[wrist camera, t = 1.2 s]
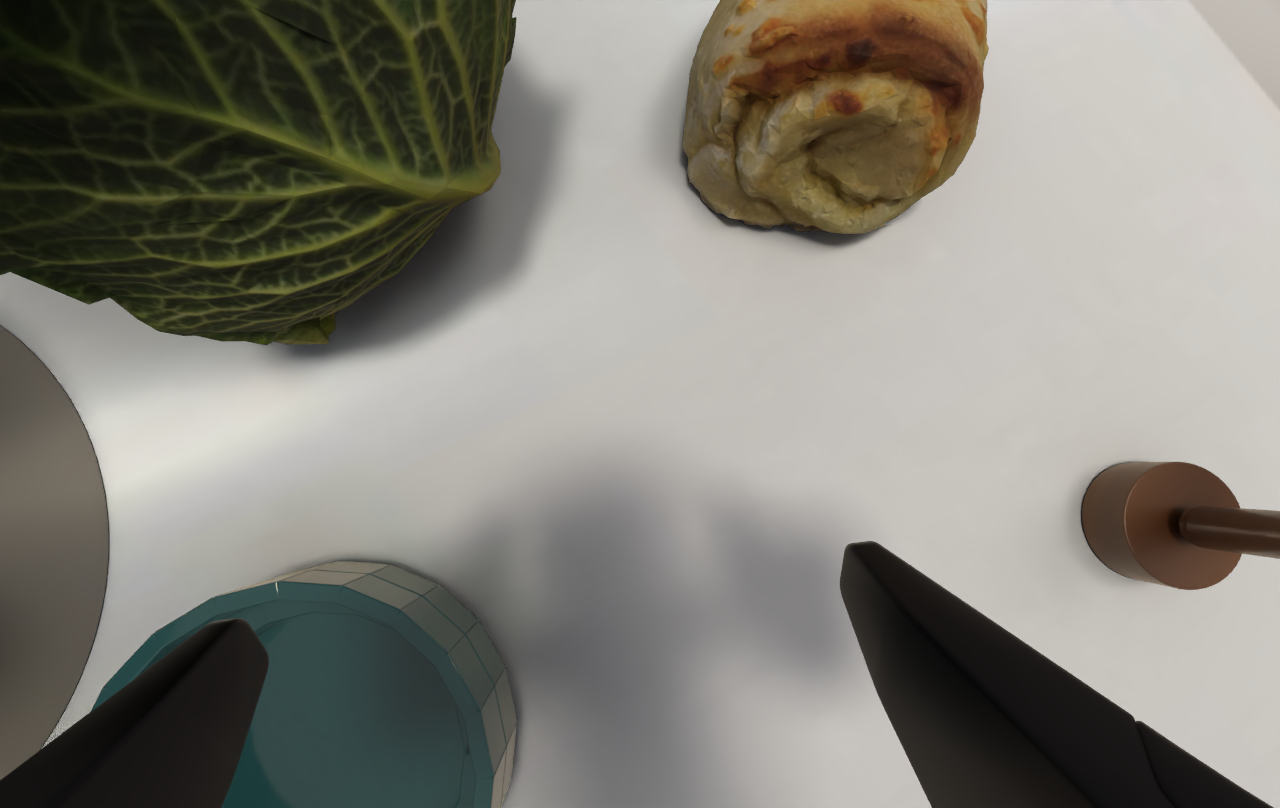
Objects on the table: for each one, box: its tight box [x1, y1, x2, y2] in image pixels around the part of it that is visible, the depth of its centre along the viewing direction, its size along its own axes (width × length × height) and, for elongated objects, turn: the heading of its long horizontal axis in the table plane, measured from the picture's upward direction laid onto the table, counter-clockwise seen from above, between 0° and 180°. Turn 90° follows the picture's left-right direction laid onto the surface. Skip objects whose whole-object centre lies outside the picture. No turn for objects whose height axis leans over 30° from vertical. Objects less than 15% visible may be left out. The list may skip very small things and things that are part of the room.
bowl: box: [91, 561, 517, 808], centre depth 19 cm, size 13×13×4 cm
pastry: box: [683, 0, 989, 234], centre depth 21 cm, size 14×12×8 cm
